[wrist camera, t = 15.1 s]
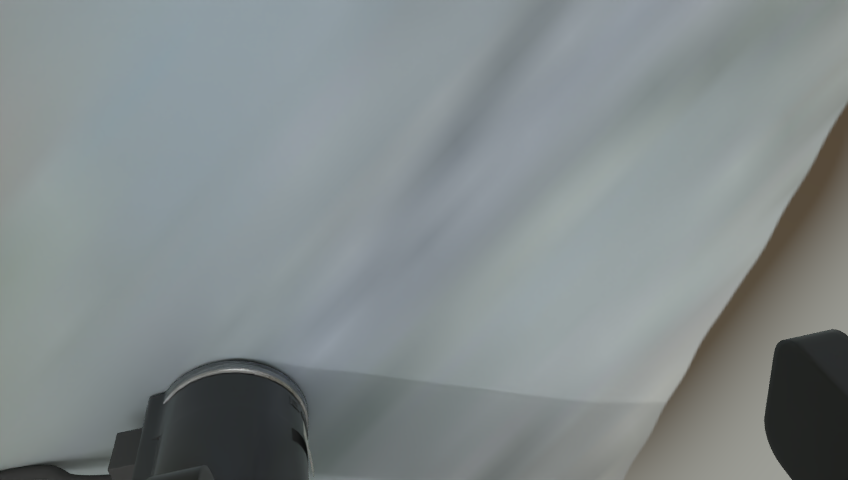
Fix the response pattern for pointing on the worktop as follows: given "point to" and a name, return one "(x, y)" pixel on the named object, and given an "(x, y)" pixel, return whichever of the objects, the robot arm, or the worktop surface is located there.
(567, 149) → the worktop surface
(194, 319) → the worktop surface
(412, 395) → the worktop surface
